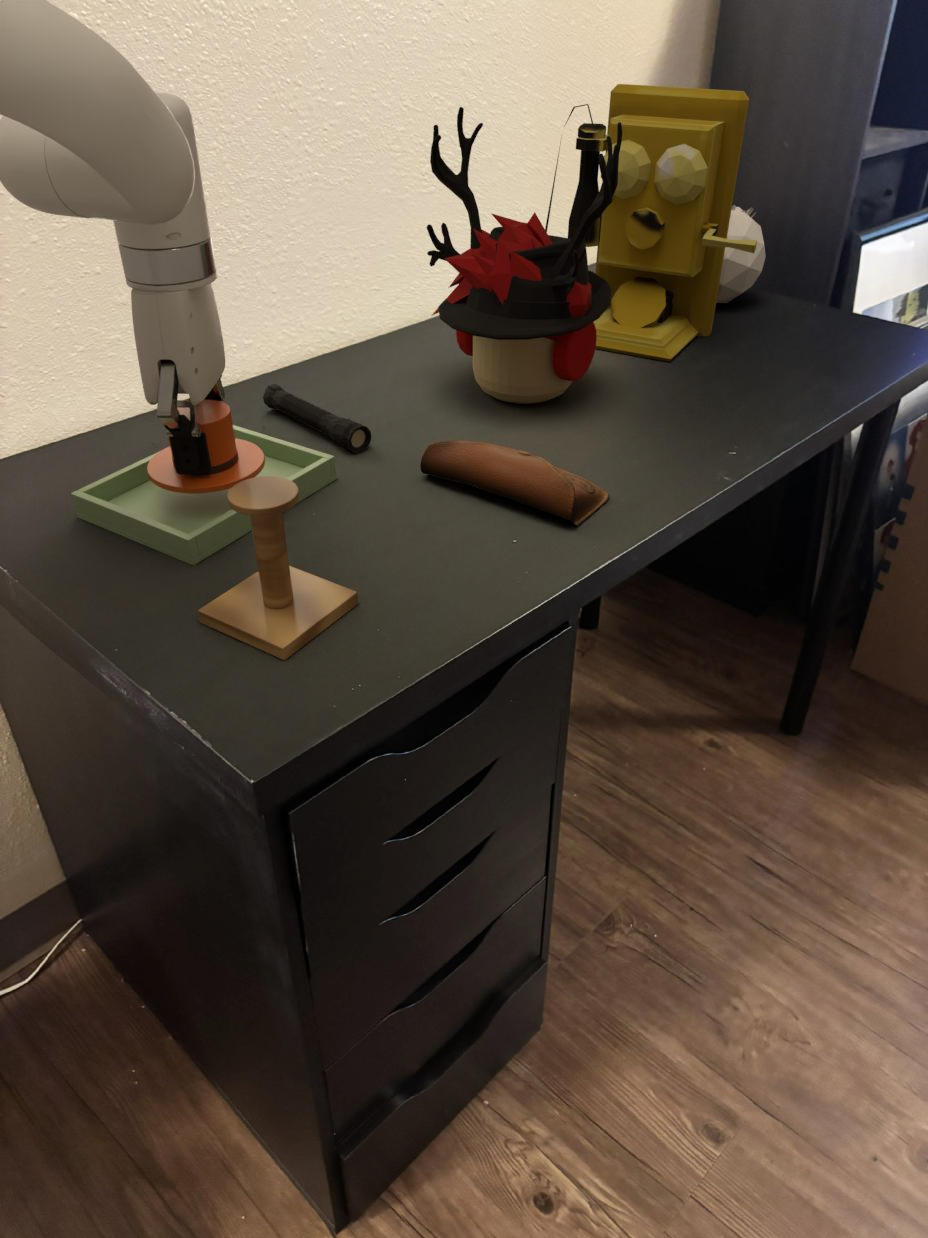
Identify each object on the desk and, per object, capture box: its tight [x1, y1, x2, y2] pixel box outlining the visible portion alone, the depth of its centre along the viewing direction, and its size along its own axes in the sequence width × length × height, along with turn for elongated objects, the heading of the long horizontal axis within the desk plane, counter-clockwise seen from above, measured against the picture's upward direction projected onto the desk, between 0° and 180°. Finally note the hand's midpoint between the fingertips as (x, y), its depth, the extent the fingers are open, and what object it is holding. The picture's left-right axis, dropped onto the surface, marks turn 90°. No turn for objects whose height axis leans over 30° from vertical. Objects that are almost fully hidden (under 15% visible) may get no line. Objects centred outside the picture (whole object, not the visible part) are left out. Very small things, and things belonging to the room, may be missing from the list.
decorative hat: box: [426, 106, 622, 405], centre depth 103 cm, size 23×21×30 cm
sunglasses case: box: [419, 440, 610, 527], centre depth 90 cm, size 18×7×7 cm
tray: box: [70, 424, 337, 566], centre depth 89 cm, size 20×16×3 cm
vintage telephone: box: [544, 83, 757, 363], centre depth 119 cm, size 31×14×30 cm, turn 61°
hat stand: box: [197, 476, 359, 661], centre depth 70 cm, size 9×9×11 cm
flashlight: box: [262, 383, 372, 454], centre depth 102 cm, size 3×16×3 cm, turn 44°
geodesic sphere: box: [716, 204, 767, 304], centre depth 138 cm, size 15×14×14 cm
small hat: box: [147, 400, 265, 494], centre depth 86 cm, size 11×11×6 cm
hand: (204, 455), depth 87 cm, fingers closed on small hat, 6 cm apart
